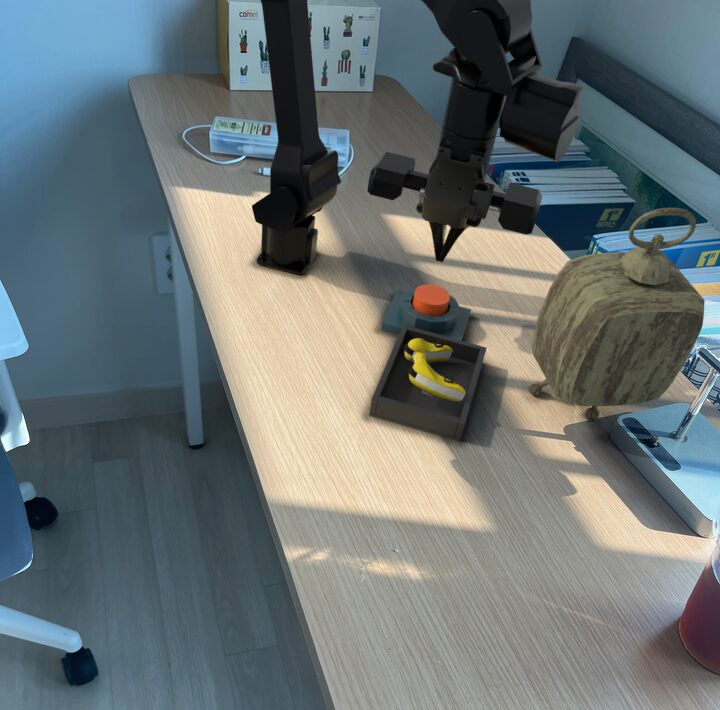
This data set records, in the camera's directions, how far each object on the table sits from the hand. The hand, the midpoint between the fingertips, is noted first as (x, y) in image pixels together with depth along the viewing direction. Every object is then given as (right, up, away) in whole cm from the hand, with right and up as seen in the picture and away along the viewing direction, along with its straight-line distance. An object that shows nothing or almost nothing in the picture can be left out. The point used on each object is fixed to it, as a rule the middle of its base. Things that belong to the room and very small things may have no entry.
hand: (439, 260), depth 90 cm
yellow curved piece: (-1, -15, -3) cm, 15 cm away
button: (-1, -4, +5) cm, 6 cm away
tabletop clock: (+17, -18, -1) cm, 24 cm away
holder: (-2, -16, -2) cm, 16 cm away
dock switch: (-1, -6, +7) cm, 9 cm away
